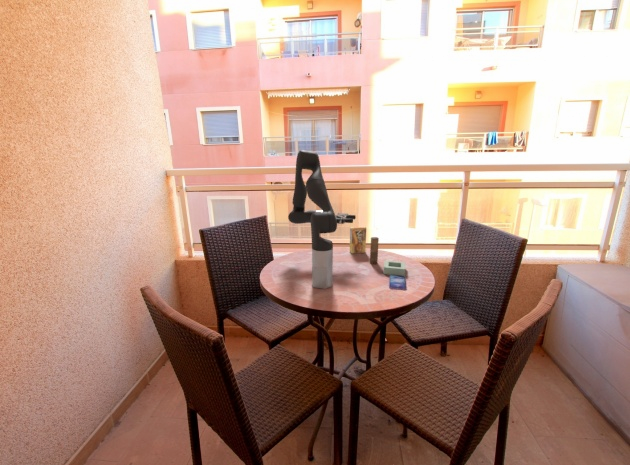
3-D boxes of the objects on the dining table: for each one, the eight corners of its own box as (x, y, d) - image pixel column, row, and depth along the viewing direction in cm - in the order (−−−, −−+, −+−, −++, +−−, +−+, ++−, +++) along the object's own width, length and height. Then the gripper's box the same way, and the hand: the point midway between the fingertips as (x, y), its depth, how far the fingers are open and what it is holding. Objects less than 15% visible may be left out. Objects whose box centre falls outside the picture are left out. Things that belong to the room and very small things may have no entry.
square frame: (404, 276, 140) (405, 269, 140) (383, 273, 143) (383, 267, 142) (404, 268, 150) (405, 262, 149) (384, 266, 152) (384, 260, 152)
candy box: (363, 250, 179) (363, 226, 175) (365, 252, 175) (366, 227, 171) (349, 251, 177) (349, 227, 173) (351, 253, 173) (352, 228, 169)
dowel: (377, 264, 155) (378, 239, 152) (369, 263, 156) (370, 238, 153) (377, 262, 159) (378, 237, 155) (370, 261, 160) (371, 236, 157)
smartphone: (405, 275, 140) (406, 289, 126) (405, 277, 140) (406, 291, 126) (389, 274, 141) (389, 287, 127) (389, 275, 142) (388, 289, 128)
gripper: (321, 213, 151) (352, 214, 147) (327, 208, 165) (356, 209, 160) (321, 227, 154) (351, 229, 149) (327, 221, 167) (356, 222, 162)
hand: (354, 219), depth 155 cm, fingers open, 8 cm apart
